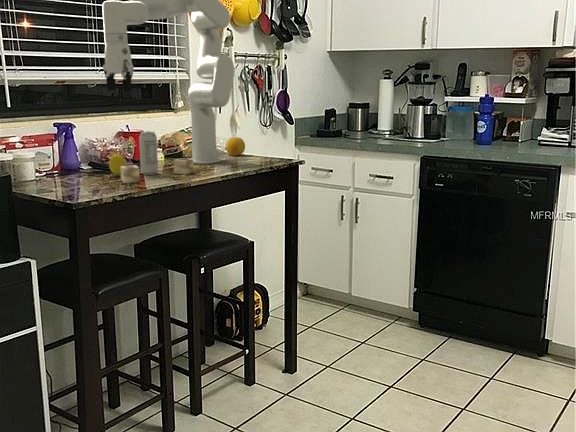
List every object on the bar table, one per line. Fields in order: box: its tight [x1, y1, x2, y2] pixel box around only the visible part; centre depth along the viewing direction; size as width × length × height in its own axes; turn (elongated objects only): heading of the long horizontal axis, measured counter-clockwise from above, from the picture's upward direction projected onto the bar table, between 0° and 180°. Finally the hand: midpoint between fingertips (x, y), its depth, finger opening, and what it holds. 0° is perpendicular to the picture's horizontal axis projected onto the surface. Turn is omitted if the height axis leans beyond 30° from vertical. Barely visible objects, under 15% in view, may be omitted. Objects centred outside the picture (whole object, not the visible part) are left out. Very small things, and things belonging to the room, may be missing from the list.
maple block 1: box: [120, 164, 141, 184], centre depth 211 cm, size 5×5×5 cm
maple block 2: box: [173, 157, 194, 175], centre depth 228 cm, size 5×5×5 cm
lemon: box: [108, 152, 126, 176], centre depth 221 cm, size 6×6×8 cm
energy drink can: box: [138, 130, 159, 176], centre depth 224 cm, size 6×6×15 cm
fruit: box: [224, 136, 246, 157], centre depth 270 cm, size 9×8×8 cm
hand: (119, 90), depth 216 cm, fingers open, 9 cm apart
